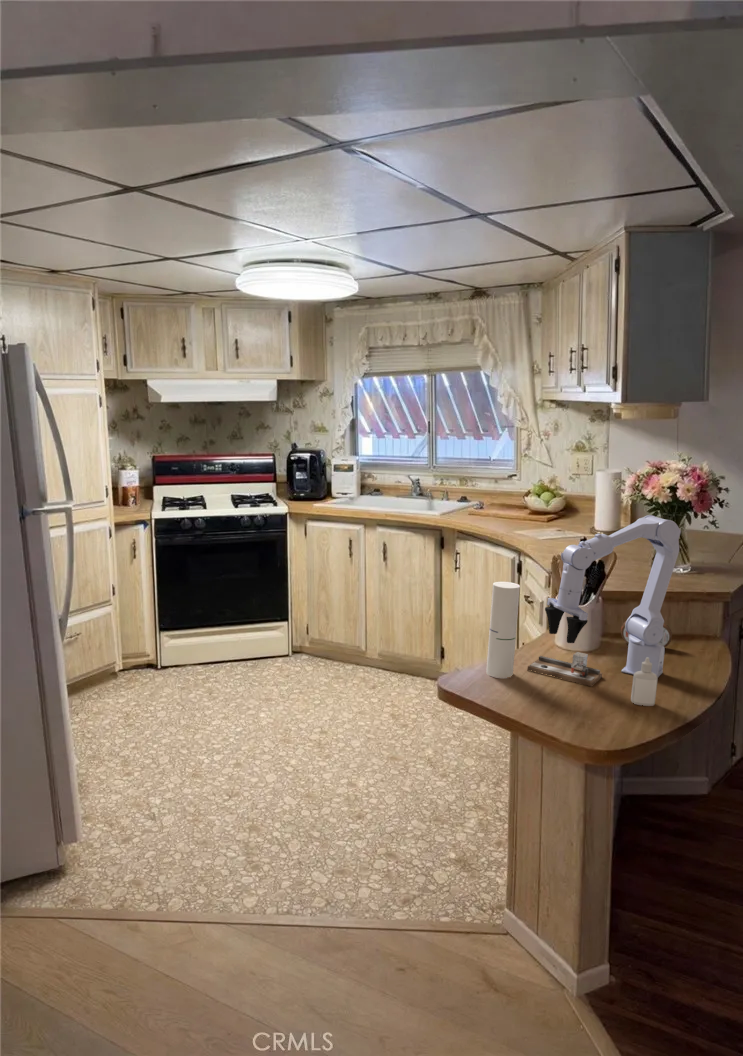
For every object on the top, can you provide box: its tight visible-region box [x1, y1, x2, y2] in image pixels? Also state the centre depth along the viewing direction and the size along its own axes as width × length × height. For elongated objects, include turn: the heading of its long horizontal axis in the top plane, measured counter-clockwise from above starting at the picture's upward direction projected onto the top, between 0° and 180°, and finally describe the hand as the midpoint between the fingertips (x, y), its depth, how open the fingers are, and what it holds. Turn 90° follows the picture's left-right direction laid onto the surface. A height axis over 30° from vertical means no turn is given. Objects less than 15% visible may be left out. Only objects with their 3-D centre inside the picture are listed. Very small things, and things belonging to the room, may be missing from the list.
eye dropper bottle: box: [630, 658, 658, 707], centre depth 189 cm, size 4×6×12 cm
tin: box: [620, 620, 673, 649], centre depth 235 cm, size 15×3×8 cm, turn 72°
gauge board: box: [527, 655, 603, 687], centre depth 208 cm, size 18×9×3 cm, turn 56°
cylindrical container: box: [485, 581, 521, 679], centre depth 204 cm, size 7×7×25 cm
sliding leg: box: [571, 651, 589, 673], centre depth 207 cm, size 3×7×4 cm, turn 146°
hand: (561, 638), depth 205 cm, fingers open, 7 cm apart
